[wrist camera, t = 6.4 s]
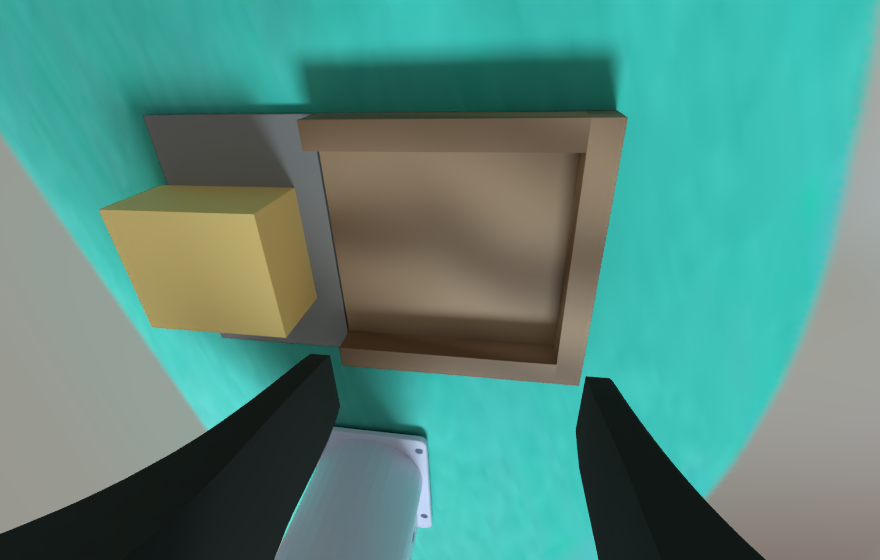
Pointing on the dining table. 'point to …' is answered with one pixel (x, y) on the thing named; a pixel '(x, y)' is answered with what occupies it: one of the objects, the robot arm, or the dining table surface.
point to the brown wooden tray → (469, 236)
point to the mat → (261, 165)
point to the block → (215, 257)
